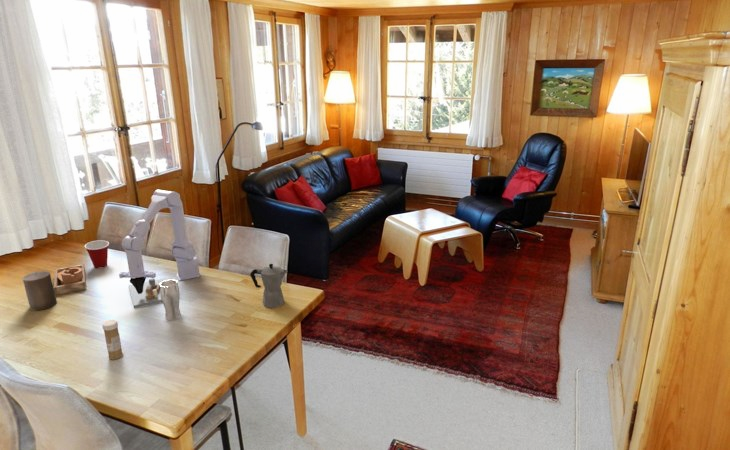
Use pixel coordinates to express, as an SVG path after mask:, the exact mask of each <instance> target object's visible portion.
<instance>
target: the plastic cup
mask: <svg viewBox="0 0 730 450" xmlns="http://www.w3.org/2000/svg"><path fill="white" fill-rule="evenodd" d="M109 244H110V242H109V241H107V240H104V239H103V240H102V239H101V240H92V241H89V242H87V243H85V244H84V248H85V250H86V251H87V254H88V256H89V259H90V261H91V263H92V265H93V267H94V268H95V269H103V268H105V267H107V266H108V258H109V257H108V250H109V249H108V248H109V246H110V245H109Z"/></svg>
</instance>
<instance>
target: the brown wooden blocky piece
mask: <svg viewBox="0 0 730 450" xmlns="http://www.w3.org/2000/svg"><path fill="white" fill-rule="evenodd" d="M155 289H157V292H159V289H160V284H156V288H155ZM153 290H154V289H152V286H151V285H148V286H147V288H146V290H145V291H146V293H147V294H146V296H145V297H146V299H151V298H154V296H153Z"/></svg>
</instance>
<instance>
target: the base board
mask: <svg viewBox="0 0 730 450" xmlns="http://www.w3.org/2000/svg"><path fill="white" fill-rule="evenodd" d="M166 280H173V279H172V277H171V276H169V277H165V278H164V277H163V278H159V279H155V278H149V279H148V281H145V282H144V286H143V292H142V293H141V294H138V293H137V291H136V289H135V287H134V286H133V285H132V284H130V285H128V289H129V293H130V297H131V301H132V304H133V308H134V309H137V308H142V307H146V306H149V305H154V304H160V303H163V302H162V299H161V294H160V289H159V292H157V289H155V288H156V284H160V283H161V282H163V281H166ZM148 285H151V286H152V289H154V290H153V296H154V298H151V299H146V297H145V296H146V294H147V293H146V291H145V290H146V288H147V286H148Z"/></svg>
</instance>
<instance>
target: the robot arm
mask: <svg viewBox="0 0 730 450" xmlns="http://www.w3.org/2000/svg"><path fill="white" fill-rule="evenodd" d="M150 200H151V202H150V203H149V206H148V207H147V209H146V211H145V213H144V214H143V217H142V219H139V220H137V222H135V223H134V226H133V227H132V229H131V231H130V232H129V234H128V235H126V236H125V237H124V238H122V241H121V244H120V246H121V247H122V249H123V250H124V253H125V254H126V260H127V266H128V271H122V272H120V273H119V274H118V276H119V279H123V278H128V279H129V278H130V280H129V283H130V284H131V285H133V286H134V287H135V289H136V291H137V293H138V294H141V293H142V292H143V286H144V282H146V280H147V278H149V279H155V278H156V277H157V275H156V272H155V271H148V270H145V266H144V260H143V253H142V248H143V247H144V241H145V238H146V235H147V234H148V232H149V231H150V229H151V223H152V221H153V220H154V219H155V217H156V216H157V214H158V213H159V212H160V211H161V210H162V209H169V211H170V216H171V223H172V231H173V236H174V241H173V242H172V243H171V251H170V252H171V256H172V257H173V258H174V260H176V267H177V273H176V274H175V275H176V277H177V279H178V281H185V280H191V279H196V278H199V277H201V275H200V267H199V261H198V258H197V256H195V255H196V248H195V247H194V243H193V242H192V241H190V240H189V239H188V235H187V228H186V227H187V226H186V220H185V213H184V205H183V200H181V194H180V193H178V192H177V191H172V190H171V191H170V190H166V189H165V190H162V189H156V190H155V191H154V192H153V194H152V196H151V197H150Z"/></svg>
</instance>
